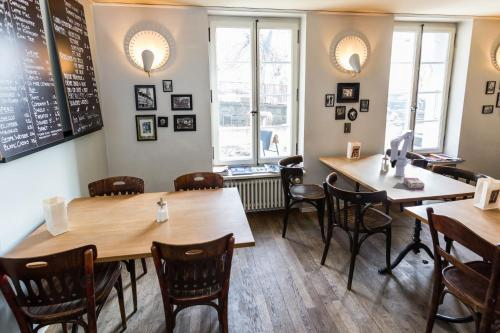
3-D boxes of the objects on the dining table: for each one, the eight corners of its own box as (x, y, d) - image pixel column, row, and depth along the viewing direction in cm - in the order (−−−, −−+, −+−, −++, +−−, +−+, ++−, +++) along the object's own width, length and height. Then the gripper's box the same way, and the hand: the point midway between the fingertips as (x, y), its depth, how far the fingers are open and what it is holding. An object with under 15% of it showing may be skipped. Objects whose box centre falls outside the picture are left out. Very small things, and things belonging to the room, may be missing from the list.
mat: (397, 182, 278) (397, 182, 278) (418, 185, 269) (418, 185, 268) (393, 187, 265) (393, 187, 265) (414, 190, 256) (414, 190, 256)
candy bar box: (402, 183, 276) (409, 188, 260) (403, 177, 274) (410, 182, 259) (416, 183, 274) (424, 189, 258) (417, 177, 273) (424, 183, 257)
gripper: (391, 151, 293) (390, 165, 296) (387, 153, 282) (386, 168, 285) (399, 152, 289) (398, 166, 292) (396, 154, 278) (394, 169, 281)
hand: (393, 167), depth 288 cm, fingers closed
